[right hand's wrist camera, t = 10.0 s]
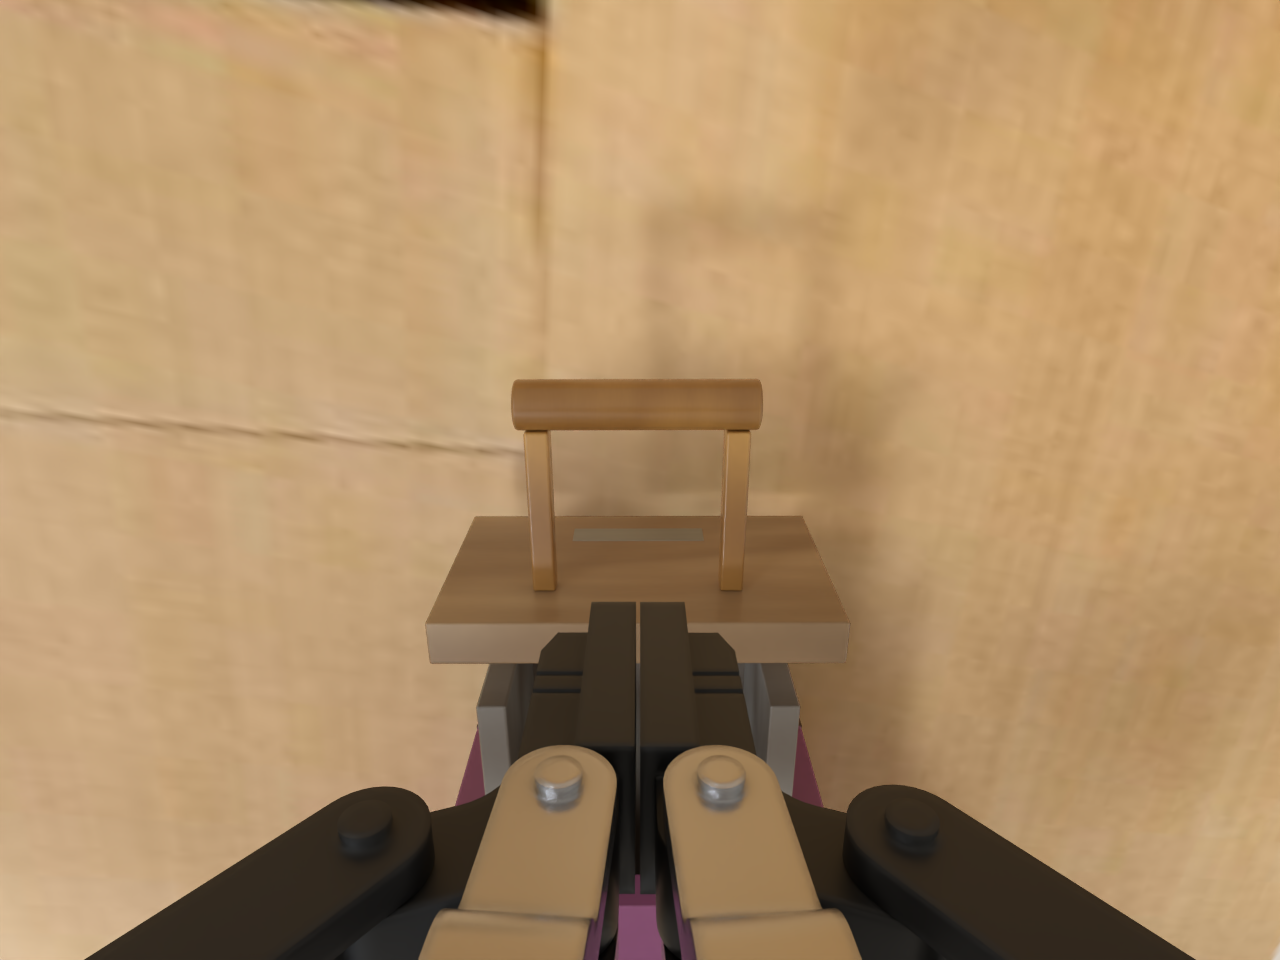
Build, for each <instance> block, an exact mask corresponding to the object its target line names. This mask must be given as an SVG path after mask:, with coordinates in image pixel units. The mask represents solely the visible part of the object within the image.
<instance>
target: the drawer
mask: <svg viewBox="0 0 1280 960" xmlns="http://www.w3.org/2000/svg"><path fill="white" fill-rule="evenodd" d="M511 411H512V420H513V425H514V427H515V429H516V430H525V432H524V450H525V466H526V483H527V499H528V515H529V516H510V517H475V518H474V520H473V522H472V524H471V526H470V529H469V531H468V533H467V535H466V537H465V539H464V541H463V544H462V546H461V548H460V550H459V552H458V554H457V557H456V559H455V561H454V563H453V565H452V567H451V569H450V572H449V574H448V576H447V578H446V580H445V582H444V585H443V587H442V589H441V591H440V593H439V595H438V597H437V600H436V602H435V604H434V606H433V608H432V610H431V613H430V615H429V617H428V619H427V621H426V624H425V627H426V635H427V643H428V651H429V659H430V663H432V664H489V667H488V670H487V674H486V677H485V680H484V684H483V687H482V690H481V694H480V697H479V700H478V704H477V707H476V710H477V720H478V730H479V740H480V750H481V760H482V770H483V780H484V790H485V795H486V794H488V793H490V792H491V791H493V790H494V789H496V788H497V787H498V786H500V785H501V782H502V779H503V777H504V775H505V773H506V772H507V770H508V769H509V768H510V766H511V765H512V764H514V763H515V762H516V761H517V759H518V755H519V750H520V746H521V741H522V736H523V732H524V727H525V722H526V718H527V713H528V708H529V704H530V699H531V695H532V693H533V685H534V681H535V676H536V671H537V667H538V662H539V657H540V653H541V650H542V649H543V648H544V647H545V646H546V645H547V644H548V643H549V642H550V640H551V639H552V638H553V637H554V636H555V635H556V634H557V633H558V632H588V626H589V618H590V609H591V602H636V820H635V875H640V602H685V609H686V618H687V627H688V633H719V634H720V635H721V636H722V637H723V638H724V640H725V641H726V642H727V643H728V644H729V645H730V646H731V647H732V648H733V649H734V650H735V653H736V658H737V663H738V668H739V676H740V678H741V682H742V687H743V694H744V697H745V702H746V707H747V711H748V716H749V721H750V726H751V731H752V736H753V741H754V745H755V750H756V755H757V756H758V757H759V758H760V759H762V760H763V761H764V762H765V763H766V764H768V765H769V766H770V768H771V769H772V770H773V772H774V773H775V775H776V777H777V779H778V782H779V785H780V788H781V790H782V791H783V792H784V793H786V794H788V795H790V796H792V792H793V781H794V770H795V759H796V748H797V737H798V726H799V715H800V704H799V701H798V697H797V694H796V691H795V687H794V684H793V680H792V677H791V673H790V670H789V666H788V663H845V662H846V657H847V648H848V640H849V631H850V621H849V619H848V617H847V615H846V613H845V610H844V608H843V606H842V604H841V602H840V599H839V597H838V595H837V593H836V590H835V588H834V586H833V584H832V582H831V579H830V577H829V575H828V573H827V570H826V568H825V566H824V564H823V562H822V559H821V557H820V555H819V553H818V550H817V548H816V546H815V544H814V542H813V539H812V537H811V535H810V533H809V530H808V528H807V526H806V524H805V522H804V519H803V517H802V516H747V500H748V481H749V463H750V444H751V433H750V430H757V429H759V428H760V425H761V421H762V413H763V393H762V385H761V382H760V380H758V379H540V380H515V381H514V383H513V387H512V395H511ZM550 430H724V448H723V473H722V499H721V516H555V515H554V495H553V474H552V453H551V432H550Z"/></svg>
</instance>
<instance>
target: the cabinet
mask: <svg viewBox="0 0 1280 960" xmlns="http://www.w3.org/2000/svg"><path fill="white" fill-rule="evenodd" d="M801 727H802V725H801V722H800V718H799V726H798V737H797V748H796V759H795V770H794V781H793V792H792V797H793V798H796V799H798V800H800V801H803V802H805V803H809V804H812V805H815V806H819V807H823V804H822V800H821V797H820V793H819V789H818V786H817V782H816V779H815V775H814V772H813V768H812V765H811V761H810V757H809V754H808V750H807V747H806V743H805V740H804V736H803V733H802V730H801ZM484 795H485V790H484V780H483V770H482V760H481V750H480V740H479V730H478V725H477V732H476V735H475V739H474V742H473V745H472V749H471V752H470V756H469V759H468V763H467V766H466V770H465V773H464V777H463V780H462V784H461V787H460V791H459V794H458V798H457V801H456V805H455V806H458V805H462V804H465V803H468V802H471V801H474V800H476V799H478V798H481V797H483V796H484ZM823 808H824V807H823ZM618 925H619V957H618V960H662V957H661V937H660V935H659V932H658V929H657V922H656V894H640V875H635V894H619V919H618Z"/></svg>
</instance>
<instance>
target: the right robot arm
mask: <svg viewBox="0 0 1280 960" xmlns="http://www.w3.org/2000/svg"><path fill="white" fill-rule="evenodd" d="M635 820H636V602H591V609H590V618H589V626H588V632H558V633H557V634H556V635H555V636H554V637H553V638H552V639H551V640H550V642H549V643H548V644H547V645H546V646H545V647H544V648H543V649H542V650H541V653H540V657H539V662H538V667H537V671H536V676H535V681H534V685H533V693H532V695H531V699H530V704H529V708H528V713H527V718H526V722H525V727H524V732H523V736H522V741H521V746H520V750H519V755H518V759H517V761H516V762H515V763H514V764H512V765H511V766H510V768H509V769H508V770H507V772H506V773H505V775H504V777H503V779H502V782H501V785H500V786H498V787H497V788H496V789H494V790H493V791H491V792H490V793H488V794H486V795H484V796H483V797H481V798H478V799H476V800H474V801H471V802H468V803H465V804H462V805H458V806H454V807H450V808H446V809H442V810H438V811H434V812H429V809H428V806H427V805H426V803H425V802H424V800H422V799H421V798H420V797H419V796H418V795H416V794H415V793H413V792H411V791H408V790H405V789H402V788H397V787H373V788H368V789H363V790H359V791H356V792H353V793H350V794H348V795H346V796H343V797H341V798H339V799H337V800H336V801H334V802H332V803H330V804H329V805H327V806H326V807H324V808H323V809H321V810H319V811H318V812H316V813H315V814H313V815H312V816H310V817H308V818H307V819H305V820H304V821H302V822H301V823H299V824H297V825H296V826H294V827H293V828H291V829H290V830H288V831H286V832H285V833H283V834H282V835H280V836H278V837H277V838H275V839H274V840H272V841H271V842H269V843H267V844H266V845H264V846H263V847H261V848H260V849H258V850H256V851H255V852H253V853H252V854H250V855H249V856H247V857H245V858H244V859H242V860H241V861H239V862H238V863H236V864H234V865H233V866H231V867H230V868H228V869H226V870H225V871H223V872H222V873H220V874H219V875H217V876H215V877H214V878H212V879H211V880H209V881H208V882H206V883H204V884H203V885H201V886H200V887H198V888H197V889H195V890H193V891H192V892H190V893H189V894H187V895H186V896H184V897H182V898H181V899H179V900H178V901H176V902H174V903H173V904H171V905H170V906H168V907H167V908H165V909H163V910H162V911H160V912H159V913H157V914H156V915H154V916H152V917H151V918H149V919H148V920H146V921H145V922H143V923H141V924H140V925H138V926H137V927H135V928H134V929H132V930H130V931H129V932H127V933H126V934H124V935H122V936H121V937H119V938H118V939H116V940H115V941H113V942H111V943H110V944H108V945H107V946H105V947H104V948H102V949H100V950H99V951H97V952H96V953H94V954H93V955H91V956H89V957H88V958H86V959H85V960H618V957H619V925H618V919H619V894H635ZM640 894H656V922H657V929H658V932H659V935H660V937H661V957H662V960H1195V959H1194V958H1192V957H1191V956H1189V955H1187V954H1186V953H1184V952H1183V951H1181V950H1180V949H1178V948H1176V947H1175V946H1173V945H1172V944H1170V943H1169V942H1167V941H1165V940H1164V939H1162V938H1161V937H1159V936H1157V935H1156V934H1154V933H1153V932H1151V931H1150V930H1148V929H1146V928H1145V927H1143V926H1142V925H1140V924H1139V923H1137V922H1135V921H1134V920H1132V919H1131V918H1129V917H1128V916H1126V915H1124V914H1123V913H1121V912H1120V911H1118V910H1117V909H1115V908H1113V907H1112V906H1110V905H1109V904H1107V903H1105V902H1104V901H1102V900H1101V899H1099V898H1098V897H1096V896H1094V895H1093V894H1091V893H1090V892H1088V891H1087V890H1085V889H1083V888H1082V887H1080V886H1079V885H1077V884H1076V883H1074V882H1072V881H1071V880H1069V879H1068V878H1066V877H1065V876H1063V875H1061V874H1060V873H1058V872H1057V871H1055V870H1053V869H1052V868H1050V867H1049V866H1047V865H1046V864H1044V863H1042V862H1041V861H1039V860H1038V859H1036V858H1035V857H1033V856H1031V855H1030V854H1028V853H1027V852H1025V851H1024V850H1022V849H1020V848H1019V847H1017V846H1016V845H1014V844H1013V843H1011V842H1009V841H1008V840H1006V839H1005V838H1003V837H1001V836H1000V835H998V834H997V833H995V832H994V831H992V830H990V829H989V828H987V827H986V826H984V825H983V824H981V823H979V822H978V821H976V820H975V819H973V818H972V817H970V816H968V815H967V814H965V813H964V812H962V811H961V810H959V809H957V808H956V807H954V806H953V805H951V804H950V803H948V802H946V801H945V800H943V799H941V798H939V797H938V796H936V795H933V794H931V793H929V792H926V791H924V790H920V789H917V788H914V787H908V786H902V785H882V786H876V787H873V788H870V789H867V790H865V791H863V792H861V793H860V794H858V795H857V796H856V797H855V798H854V799H853V800H852V802H851V803H850V805H849V808H848V810H847V813H843V812H839V811H835V810H831V809H827V808H823V807H819V806H815V805H812V804H809V803H805V802H803V801H800V800H798V799H796V798H793V797H792V796H790V795H788V794H786V793H784V792H783V791H782V790H781V788H780V785H779V782H778V779H777V777H776V775H775V773H774V772H773V770H772V769H771V768H770V766H769V765H768V764H766V763H765V762H764V761H763V760H762V759H760V758H759V757H758V756H757V755H756V750H755V745H754V741H753V736H752V731H751V726H750V721H749V716H748V711H747V707H746V702H745V697H744V694H743V687H742V682H741V678H740V676H739V668H738V663H737V658H736V653H735V650H734V649H733V648H732V647H731V646H730V645H729V644H728V643H727V642H726V641H725V640H724V638H723V637H722V636H721V635H720V634H719V633H688V627H687V618H686V609H685V602H640Z"/></svg>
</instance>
